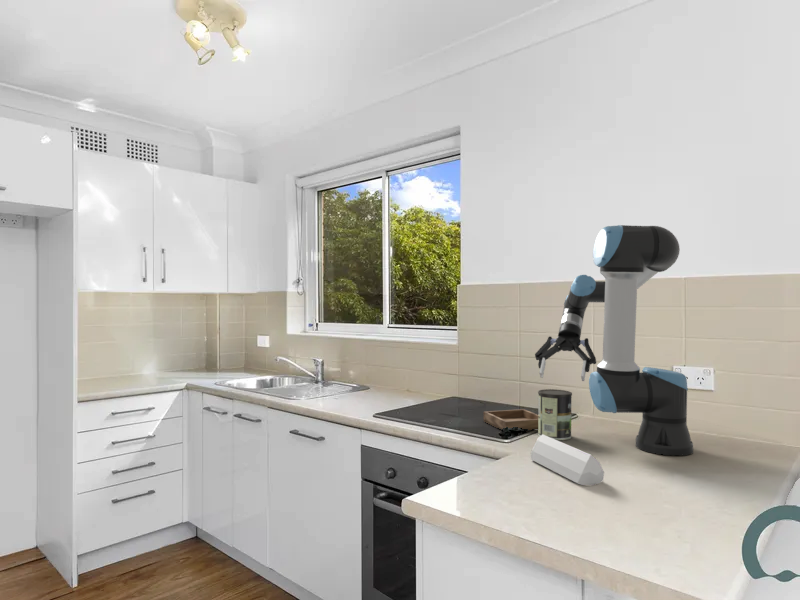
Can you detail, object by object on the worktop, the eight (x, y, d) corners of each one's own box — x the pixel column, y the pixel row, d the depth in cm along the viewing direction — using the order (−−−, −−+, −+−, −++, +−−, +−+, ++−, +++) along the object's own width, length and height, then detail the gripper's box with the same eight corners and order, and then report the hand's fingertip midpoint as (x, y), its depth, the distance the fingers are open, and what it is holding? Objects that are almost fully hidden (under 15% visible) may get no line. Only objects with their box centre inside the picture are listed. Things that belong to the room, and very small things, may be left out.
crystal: (520, 445, 147) (577, 473, 125) (539, 430, 149) (599, 455, 127) (531, 467, 149) (590, 499, 126) (551, 452, 151) (612, 481, 128)
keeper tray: (548, 429, 180) (548, 418, 180) (505, 432, 176) (505, 421, 176) (523, 418, 196) (523, 409, 196) (483, 421, 191) (483, 411, 191)
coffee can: (569, 433, 176) (570, 389, 176) (573, 441, 166) (573, 395, 166) (536, 431, 178) (537, 388, 178) (538, 439, 168) (538, 394, 168)
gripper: (608, 337, 191) (601, 386, 178) (537, 334, 203) (526, 380, 190) (606, 323, 186) (599, 373, 173) (533, 321, 198) (522, 367, 185)
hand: (561, 377), depth 181 cm, fingers open, 13 cm apart
